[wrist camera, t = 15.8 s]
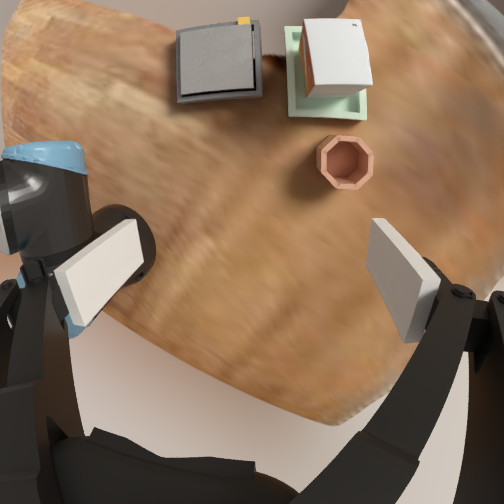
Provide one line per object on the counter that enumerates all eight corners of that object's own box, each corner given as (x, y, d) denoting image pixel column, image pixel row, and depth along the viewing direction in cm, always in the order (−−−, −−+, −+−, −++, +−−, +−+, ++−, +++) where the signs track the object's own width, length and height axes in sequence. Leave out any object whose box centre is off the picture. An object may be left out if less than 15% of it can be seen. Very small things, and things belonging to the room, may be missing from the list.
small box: (297, 49, 33) (302, 17, 21) (340, 48, 32) (362, 18, 20) (305, 99, 36) (314, 85, 24) (348, 98, 35) (374, 85, 23)
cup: (315, 180, 41) (320, 188, 36) (316, 134, 38) (321, 134, 33) (360, 182, 40) (371, 190, 35) (362, 136, 37) (374, 138, 32)
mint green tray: (288, 117, 38) (288, 116, 35) (284, 31, 32) (284, 26, 30) (362, 120, 36) (366, 120, 34) (357, 36, 31) (361, 31, 28)
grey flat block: (184, 104, 38) (175, 102, 35) (182, 33, 33) (174, 27, 30) (263, 97, 37) (261, 94, 34) (260, 24, 32) (258, 16, 28)
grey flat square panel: (183, 95, 35) (181, 94, 34) (182, 34, 31) (180, 32, 30) (254, 88, 34) (253, 87, 33) (251, 26, 30) (251, 23, 29)
